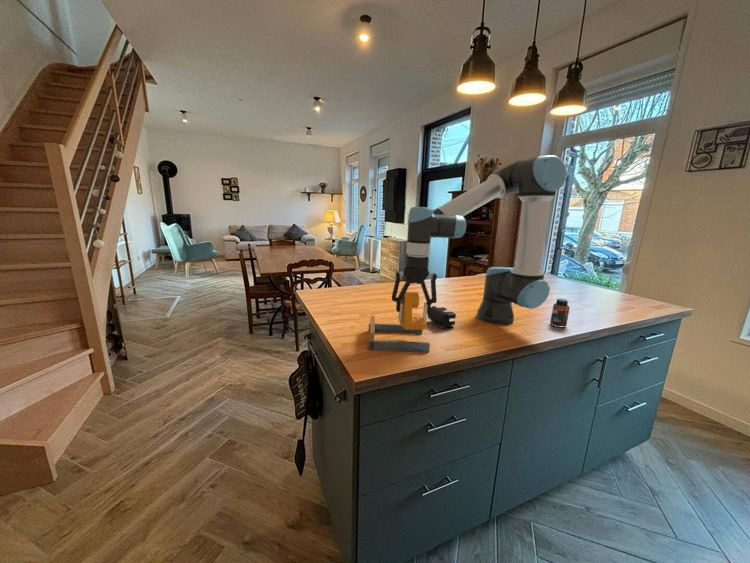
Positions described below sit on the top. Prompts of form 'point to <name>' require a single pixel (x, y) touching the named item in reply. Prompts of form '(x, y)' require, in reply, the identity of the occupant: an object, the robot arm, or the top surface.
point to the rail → (394, 344)
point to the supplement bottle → (560, 313)
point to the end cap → (442, 317)
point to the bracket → (408, 318)
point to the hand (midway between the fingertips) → (412, 321)
